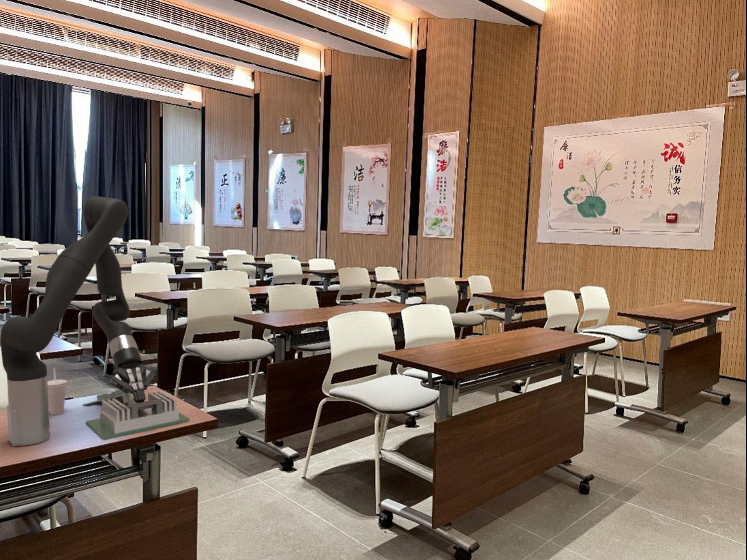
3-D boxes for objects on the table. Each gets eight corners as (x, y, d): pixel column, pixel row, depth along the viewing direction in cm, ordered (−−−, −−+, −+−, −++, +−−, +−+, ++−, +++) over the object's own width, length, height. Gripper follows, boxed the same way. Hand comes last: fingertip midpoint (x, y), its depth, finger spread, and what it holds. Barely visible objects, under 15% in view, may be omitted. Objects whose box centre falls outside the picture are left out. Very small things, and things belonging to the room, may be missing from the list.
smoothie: (64, 408, 186) (62, 364, 185) (71, 413, 181) (69, 368, 180) (42, 413, 181) (40, 368, 180) (49, 417, 177) (46, 371, 176)
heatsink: (103, 439, 159) (102, 410, 158) (85, 423, 171) (84, 396, 171) (189, 421, 174) (188, 394, 173) (167, 407, 187) (166, 383, 186)
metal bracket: (146, 382, 197) (108, 393, 183) (150, 399, 197) (112, 411, 183) (117, 389, 203) (78, 400, 190) (121, 405, 203) (82, 417, 190)
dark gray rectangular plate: (124, 405, 174) (138, 410, 166) (124, 401, 174) (137, 406, 166) (139, 403, 177) (153, 407, 168) (139, 399, 177) (153, 403, 168)
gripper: (104, 349, 172) (120, 399, 163) (150, 343, 180) (167, 391, 172) (99, 364, 176) (115, 413, 168) (144, 357, 185) (161, 404, 177)
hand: (141, 402), depth 170 cm, fingers closed
